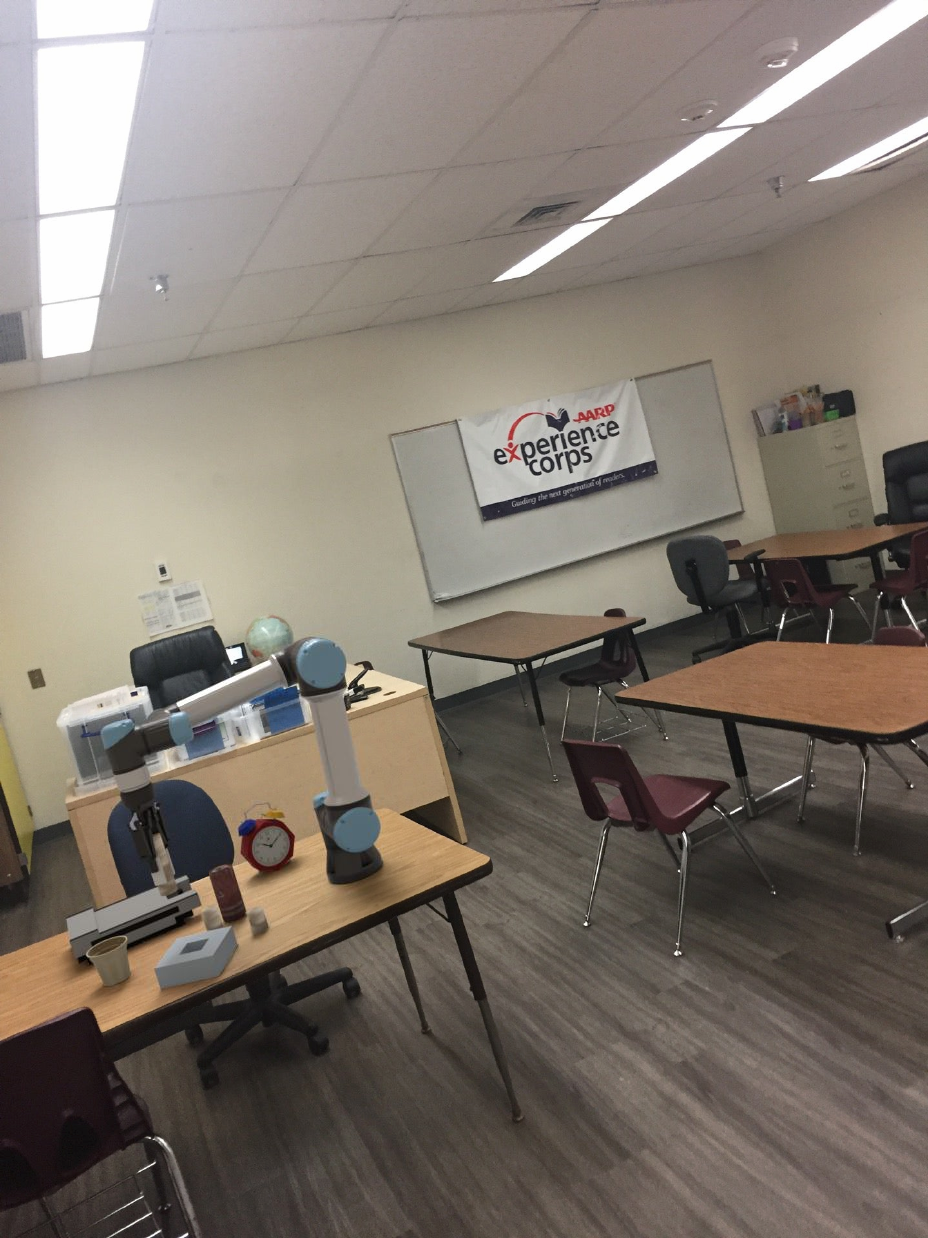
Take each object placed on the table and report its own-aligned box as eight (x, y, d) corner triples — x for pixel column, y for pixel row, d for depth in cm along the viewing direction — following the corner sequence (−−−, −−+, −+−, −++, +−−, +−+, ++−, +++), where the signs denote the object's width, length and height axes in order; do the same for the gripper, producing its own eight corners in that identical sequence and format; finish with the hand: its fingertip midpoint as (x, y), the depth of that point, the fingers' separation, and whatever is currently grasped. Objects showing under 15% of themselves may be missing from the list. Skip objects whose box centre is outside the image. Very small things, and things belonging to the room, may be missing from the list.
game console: (205, 918, 243) (196, 889, 242) (79, 972, 230) (69, 942, 229) (192, 896, 262) (184, 870, 261) (75, 945, 248) (66, 917, 247)
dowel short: (270, 923, 227) (264, 905, 226) (265, 932, 223) (260, 913, 223) (255, 927, 228) (249, 908, 227) (250, 935, 224) (244, 916, 223)
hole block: (237, 945, 220) (231, 925, 219) (219, 976, 206) (212, 955, 205) (182, 957, 221) (176, 938, 221) (160, 989, 207) (154, 968, 207)
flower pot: (104, 975, 223) (93, 942, 222) (142, 964, 224) (131, 931, 222) (91, 995, 214) (80, 961, 213) (131, 983, 214) (120, 949, 213)
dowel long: (180, 886, 218) (162, 831, 216) (173, 894, 214) (155, 838, 213) (164, 889, 219) (147, 835, 217) (157, 897, 215) (139, 841, 213)
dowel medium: (228, 933, 228) (219, 903, 227) (223, 941, 224) (214, 911, 223) (213, 937, 229) (204, 907, 228) (208, 944, 225) (198, 914, 224)
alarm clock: (255, 881, 259) (234, 815, 257) (244, 875, 267) (224, 811, 264) (302, 859, 267) (283, 795, 264) (291, 854, 274) (272, 791, 272)
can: (241, 921, 234) (226, 870, 232) (219, 925, 235) (203, 874, 233) (251, 909, 239) (236, 860, 238) (229, 913, 241) (214, 864, 239)
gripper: (136, 778, 222) (165, 867, 225) (103, 802, 205) (134, 899, 208) (165, 771, 221) (194, 861, 224) (133, 795, 204) (165, 892, 207)
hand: (165, 879), depth 216 cm, fingers closed on dowel long, 4 cm apart
